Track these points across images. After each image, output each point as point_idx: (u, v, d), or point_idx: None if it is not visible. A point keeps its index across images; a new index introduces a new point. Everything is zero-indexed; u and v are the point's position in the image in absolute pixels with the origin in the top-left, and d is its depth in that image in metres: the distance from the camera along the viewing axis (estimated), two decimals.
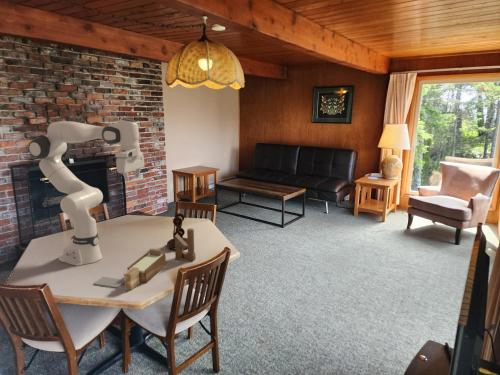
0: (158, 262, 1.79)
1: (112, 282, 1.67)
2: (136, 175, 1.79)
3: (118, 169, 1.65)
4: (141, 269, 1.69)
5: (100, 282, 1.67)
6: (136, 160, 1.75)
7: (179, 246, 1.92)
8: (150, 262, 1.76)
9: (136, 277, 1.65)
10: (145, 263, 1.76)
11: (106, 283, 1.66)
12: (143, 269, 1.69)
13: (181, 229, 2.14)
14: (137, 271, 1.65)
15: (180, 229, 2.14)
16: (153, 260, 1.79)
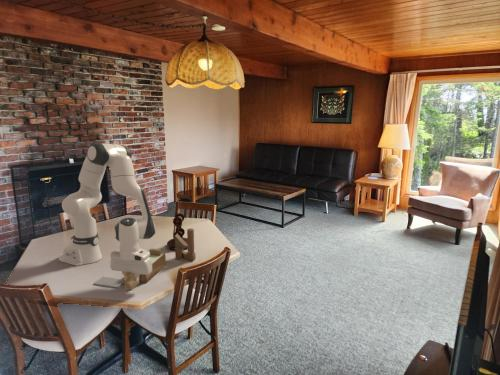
0: (158, 262, 1.79)
1: (112, 282, 1.67)
2: None
3: (149, 270, 1.60)
4: None
5: (100, 282, 1.67)
6: None
7: (179, 246, 1.92)
8: None
9: None
10: None
11: (106, 283, 1.66)
12: None
13: (181, 229, 2.14)
14: None
15: (180, 229, 2.14)
16: (153, 260, 1.79)
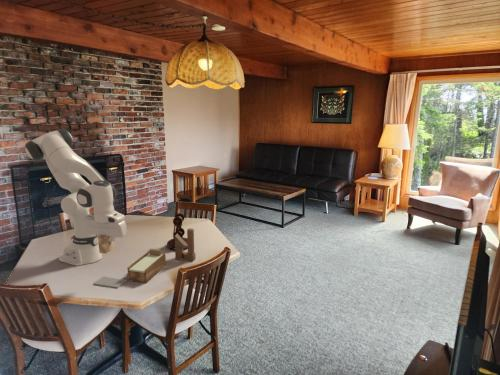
0: (158, 262, 1.79)
1: (112, 282, 1.67)
2: None
3: (123, 233, 1.59)
4: (141, 269, 1.69)
5: (100, 282, 1.67)
6: None
7: (179, 246, 1.92)
8: (150, 262, 1.76)
9: None
10: (145, 263, 1.76)
11: (106, 283, 1.66)
12: (143, 269, 1.69)
13: (181, 229, 2.14)
14: None
15: (180, 229, 2.14)
16: (153, 260, 1.79)
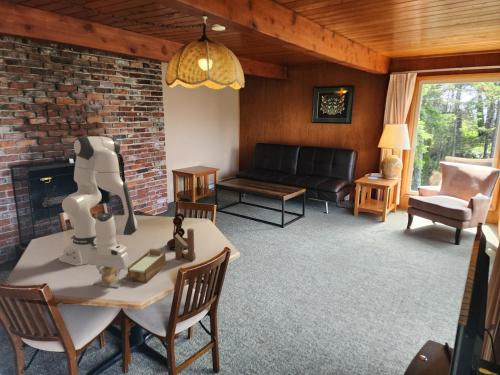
0: (158, 262, 1.79)
1: None
2: None
3: (125, 265, 1.62)
4: (141, 269, 1.69)
5: (100, 282, 1.67)
6: None
7: (179, 246, 1.92)
8: (150, 262, 1.76)
9: (114, 272, 1.68)
10: (145, 263, 1.76)
11: None
12: (143, 269, 1.69)
13: (181, 229, 2.14)
14: None
15: (180, 229, 2.14)
16: (153, 260, 1.79)
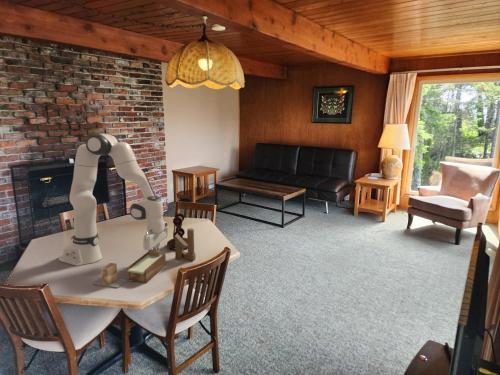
0: (158, 262, 1.79)
1: None
2: None
3: None
4: (140, 270, 1.68)
5: (100, 282, 1.67)
6: None
7: (179, 246, 1.92)
8: (149, 263, 1.76)
9: (114, 272, 1.68)
10: (144, 264, 1.75)
11: None
12: (142, 270, 1.68)
13: (181, 229, 2.14)
14: (114, 266, 1.68)
15: (180, 229, 2.14)
16: (152, 261, 1.78)
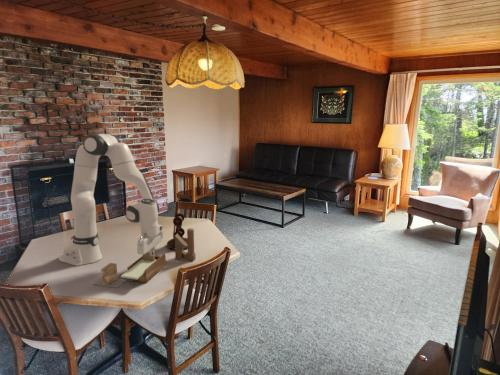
0: (158, 262, 1.79)
1: None
2: None
3: None
4: (133, 275, 1.62)
5: (100, 282, 1.67)
6: None
7: (179, 246, 1.92)
8: (143, 268, 1.70)
9: (114, 272, 1.68)
10: (138, 269, 1.69)
11: None
12: (135, 275, 1.62)
13: (181, 229, 2.14)
14: (114, 266, 1.68)
15: (180, 229, 2.14)
16: (146, 266, 1.72)
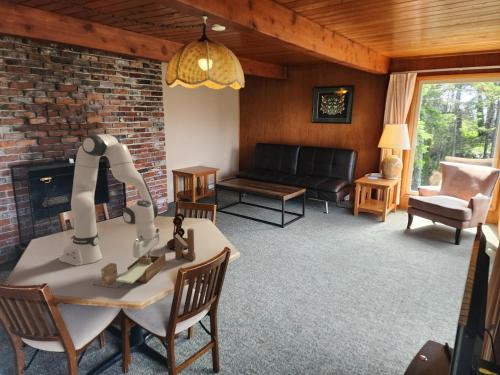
0: (158, 262, 1.79)
1: None
2: None
3: None
4: (129, 279, 1.59)
5: (100, 282, 1.67)
6: None
7: (179, 246, 1.92)
8: (139, 271, 1.66)
9: (114, 272, 1.68)
10: (134, 272, 1.66)
11: None
12: (131, 279, 1.59)
13: (181, 229, 2.14)
14: (114, 266, 1.68)
15: (180, 229, 2.14)
16: (142, 269, 1.69)
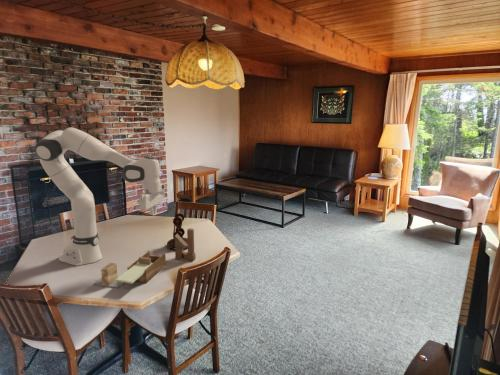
0: (158, 262, 1.79)
1: None
2: None
3: None
4: (129, 279, 1.59)
5: (100, 282, 1.67)
6: None
7: (179, 246, 1.92)
8: (139, 271, 1.66)
9: (114, 272, 1.68)
10: (134, 272, 1.66)
11: None
12: (131, 279, 1.59)
13: (181, 229, 2.14)
14: (114, 266, 1.68)
15: (180, 229, 2.14)
16: (142, 269, 1.69)
